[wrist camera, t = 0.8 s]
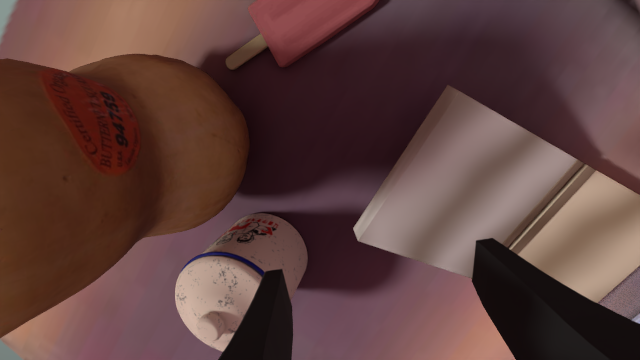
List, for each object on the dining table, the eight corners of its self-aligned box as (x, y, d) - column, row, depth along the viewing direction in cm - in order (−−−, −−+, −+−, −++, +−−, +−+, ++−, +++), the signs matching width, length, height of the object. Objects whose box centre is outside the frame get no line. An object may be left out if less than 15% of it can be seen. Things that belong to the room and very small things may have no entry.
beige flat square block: (567, 153, 26) (584, 163, 25) (467, 267, 31) (477, 280, 29) (447, 84, 22) (460, 91, 20) (352, 228, 26) (358, 241, 25)
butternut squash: (300, 151, 31) (-2, 396, 8) (203, 222, 36) (-160, 501, 13) (203, 19, 30) (-520, -146, 6) (115, 112, 34) (-479, 206, 11)
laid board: (673, 214, 26) (689, 223, 24) (557, 319, 30) (565, 332, 29) (577, 159, 26) (587, 165, 25) (477, 271, 31) (480, 281, 29)
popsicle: (206, 36, 29) (366, -86, 24) (215, 38, 30) (369, -77, 25) (239, 94, 30) (402, -11, 24) (247, 93, 31) (402, -7, 26)
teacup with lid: (284, 196, 33) (225, 259, 22) (326, 275, 35) (290, 370, 24) (190, 235, 37) (101, 305, 26) (232, 305, 39) (164, 397, 28)
